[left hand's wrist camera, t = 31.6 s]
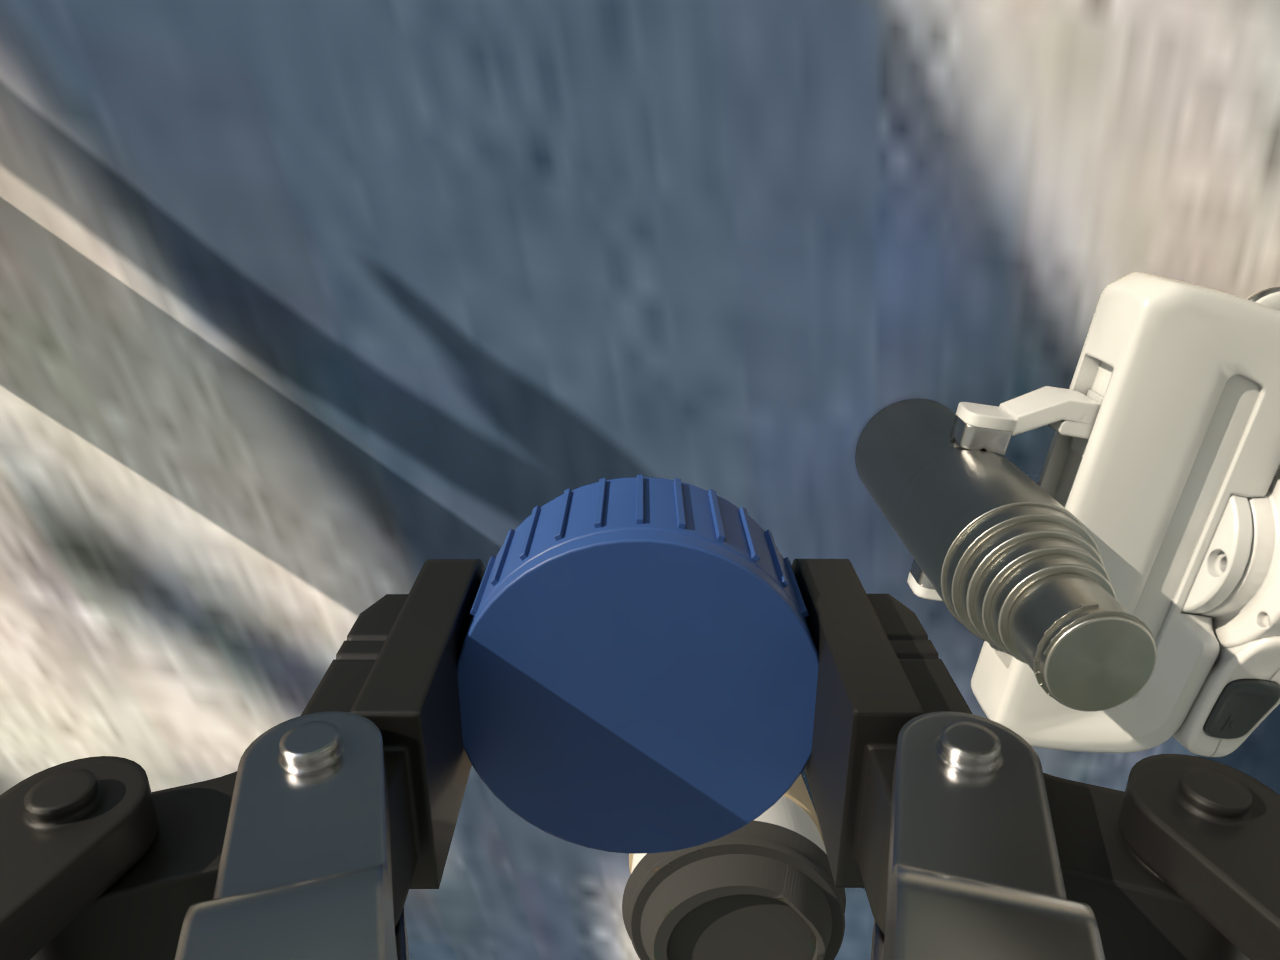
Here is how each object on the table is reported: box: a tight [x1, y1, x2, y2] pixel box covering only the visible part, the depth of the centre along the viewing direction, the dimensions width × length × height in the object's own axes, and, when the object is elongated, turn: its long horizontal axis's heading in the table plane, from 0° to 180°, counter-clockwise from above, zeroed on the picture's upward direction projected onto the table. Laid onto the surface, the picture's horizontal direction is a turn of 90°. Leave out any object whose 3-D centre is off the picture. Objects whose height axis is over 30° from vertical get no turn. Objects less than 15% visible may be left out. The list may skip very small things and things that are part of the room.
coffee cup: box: [622, 774, 846, 960], centre depth 41 cm, size 9×9×15 cm
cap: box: [457, 475, 819, 854], centre depth 11 cm, size 4×4×2 cm
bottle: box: [855, 399, 1157, 712], centre depth 34 cm, size 5×5×18 cm
